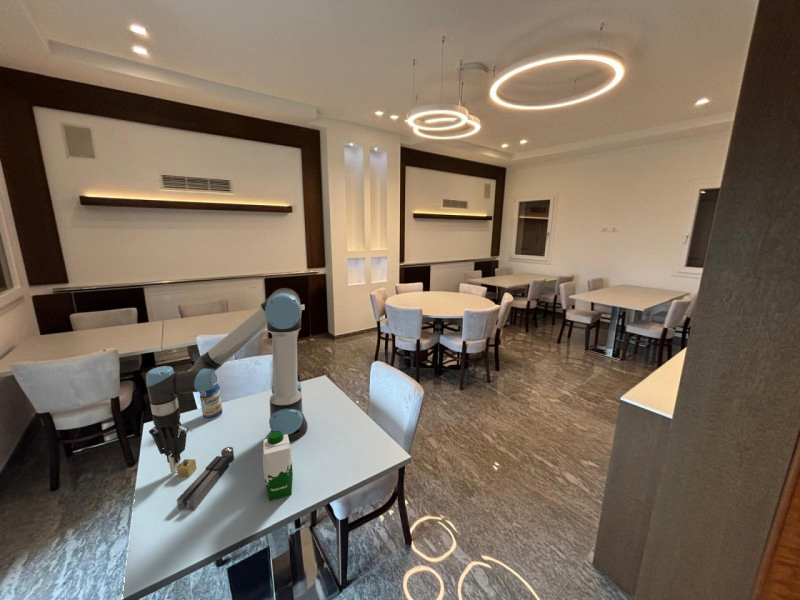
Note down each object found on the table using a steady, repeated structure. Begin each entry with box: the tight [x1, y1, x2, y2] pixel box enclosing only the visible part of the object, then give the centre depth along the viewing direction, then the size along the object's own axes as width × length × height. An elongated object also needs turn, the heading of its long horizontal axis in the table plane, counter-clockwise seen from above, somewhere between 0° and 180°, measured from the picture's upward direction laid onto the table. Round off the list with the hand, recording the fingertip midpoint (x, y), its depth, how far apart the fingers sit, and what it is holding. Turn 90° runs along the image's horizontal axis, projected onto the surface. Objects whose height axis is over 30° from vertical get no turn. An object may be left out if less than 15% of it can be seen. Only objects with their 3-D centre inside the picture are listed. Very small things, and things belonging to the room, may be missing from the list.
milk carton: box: [261, 431, 294, 502], centre depth 104 cm, size 9×9×20 cm
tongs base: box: [187, 446, 235, 511], centre depth 109 cm, size 24×4×5 cm, turn 178°
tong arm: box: [176, 455, 222, 511], centre depth 107 cm, size 19×2×4 cm, turn 175°
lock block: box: [176, 458, 197, 478], centre depth 112 cm, size 4×4×5 cm
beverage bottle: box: [199, 373, 224, 421], centre depth 146 cm, size 8×8×20 cm
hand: (175, 469), depth 113 cm, fingers closed
